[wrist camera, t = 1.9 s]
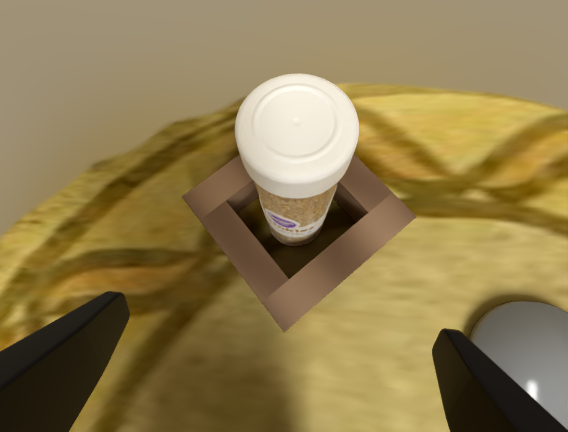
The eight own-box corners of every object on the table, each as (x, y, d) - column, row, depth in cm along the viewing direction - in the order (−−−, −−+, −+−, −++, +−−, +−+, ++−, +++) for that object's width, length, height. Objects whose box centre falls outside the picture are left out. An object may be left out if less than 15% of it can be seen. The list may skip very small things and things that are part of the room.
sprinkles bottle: (263, 243, 22) (219, 172, 9) (272, 189, 24) (244, 61, 11) (321, 251, 22) (356, 188, 9) (327, 196, 23) (366, 73, 10)
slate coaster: (548, 482, 18) (559, 491, 17) (438, 358, 20) (444, 361, 19) (634, 381, 19) (649, 385, 18) (522, 275, 21) (531, 274, 20)
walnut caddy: (286, 326, 21) (284, 332, 17) (198, 210, 23) (181, 196, 20) (398, 228, 22) (416, 216, 19) (304, 131, 25) (305, 105, 22)
